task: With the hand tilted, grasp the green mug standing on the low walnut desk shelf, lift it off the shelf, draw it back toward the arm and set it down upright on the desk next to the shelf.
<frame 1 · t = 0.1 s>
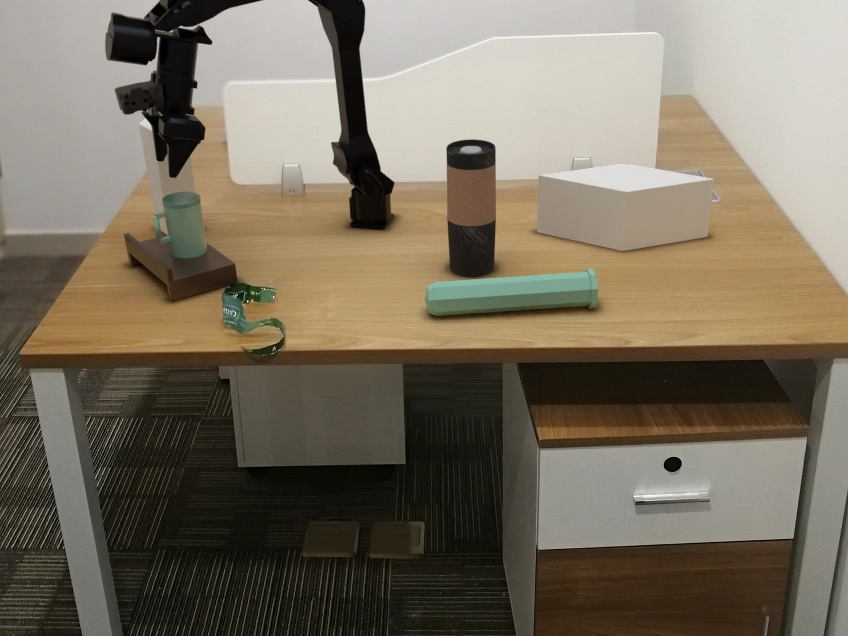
hand: (166, 169, 162), 15 cm above the table, tool pointing down, fingers open, 9 cm apart
milk: (179, 229, 181), on the table
container: (509, 310, 151), on the table
shelf: (182, 273, 164), on the table
travel mug: (472, 269, 164), on the table
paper: (621, 235, 175), on the table
green mug: (189, 251, 163), point 3 cm above the table, touching shelf
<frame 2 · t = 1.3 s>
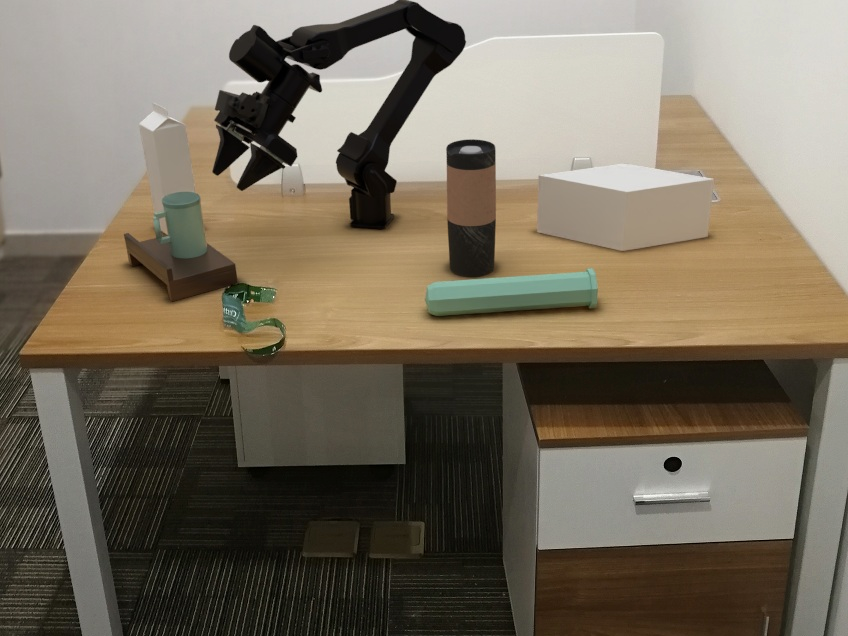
hand: (226, 181, 163), 13 cm above the table, tool tilted 45°, fingers open, 9 cm apart
nothing on the table moved.
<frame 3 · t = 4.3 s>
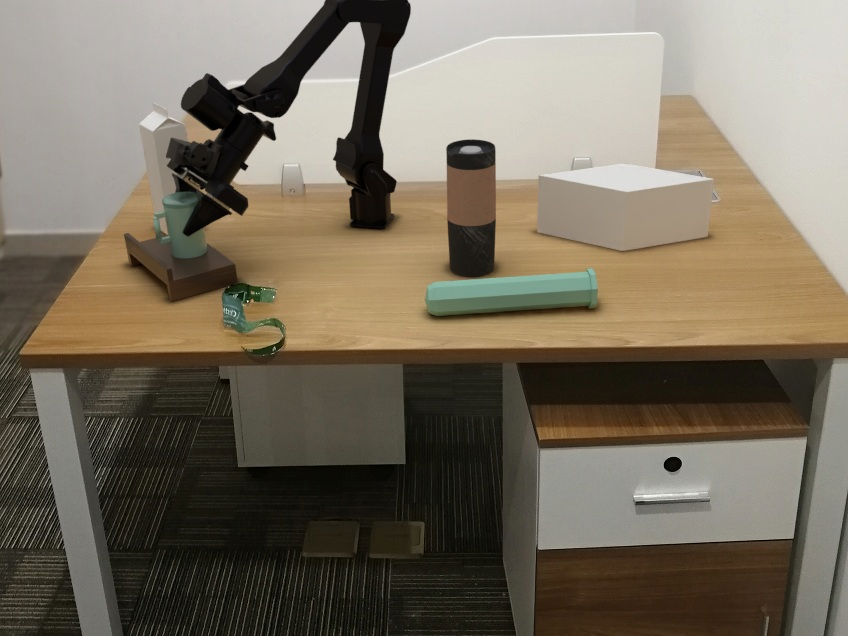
hand: (177, 229, 161), 8 cm above the table, tool tilted 45°, fingers closed on green mug, 6 cm apart
green mug: (189, 251, 163), point 3 cm above the table, touching gripper, shelf
everything else where it was.
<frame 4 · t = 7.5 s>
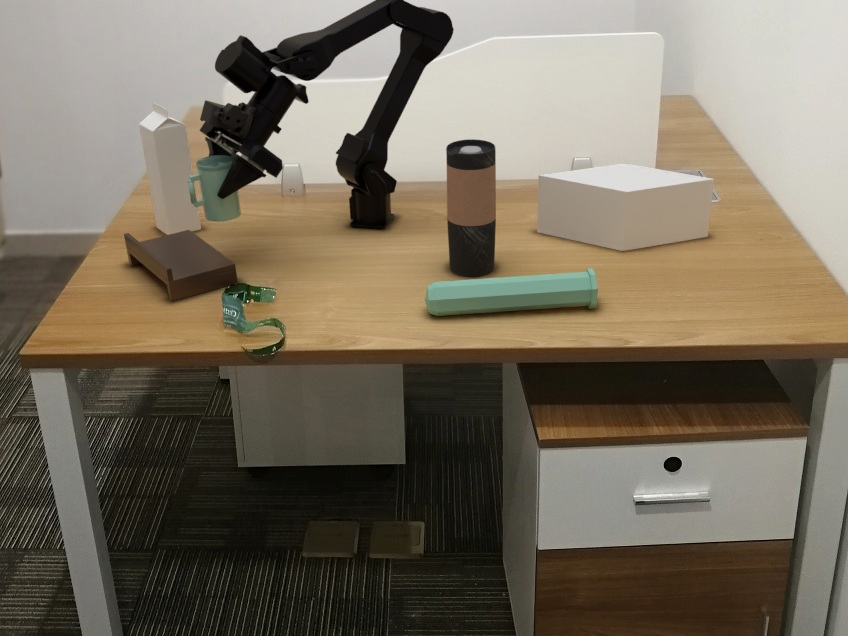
hand: (211, 192, 162), 12 cm above the table, tool tilted 45°, fingers closed on green mug, 6 cm apart
green mug: (223, 215, 164), point 8 cm above the table, touching gripper
everything else where it was.
when the fingers open (4 cm above the table, at t = 11.0 s): green mug stays where it is, on the table.
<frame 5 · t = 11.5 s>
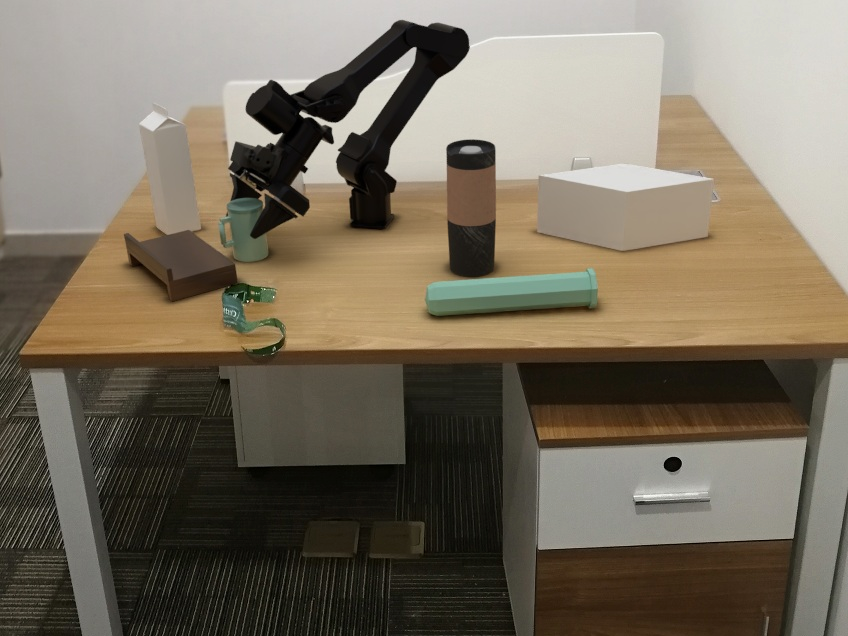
hand: (239, 229, 167), 5 cm above the table, tool tilted 45°, fingers open, 9 cm apart
green mug: (251, 255, 170), on the table
everything else where it was.
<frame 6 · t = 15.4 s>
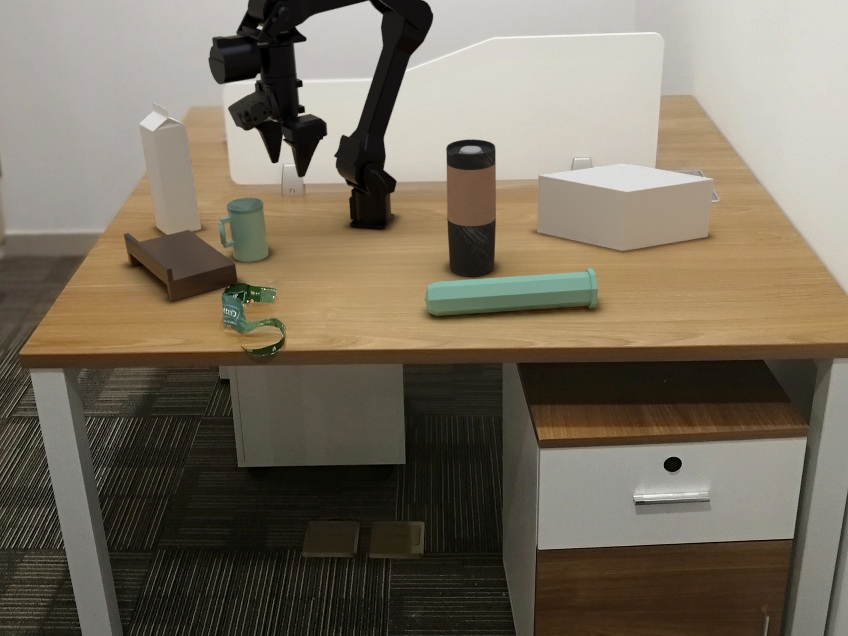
hand: (288, 169, 168), 13 cm above the table, tool pointing down, fingers open, 9 cm apart
nothing on the table moved.
at the end: green mug inside the target area (0.0 cm from its centre), on the table; green mug tilted 0°; the gripper is holding nothing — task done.
